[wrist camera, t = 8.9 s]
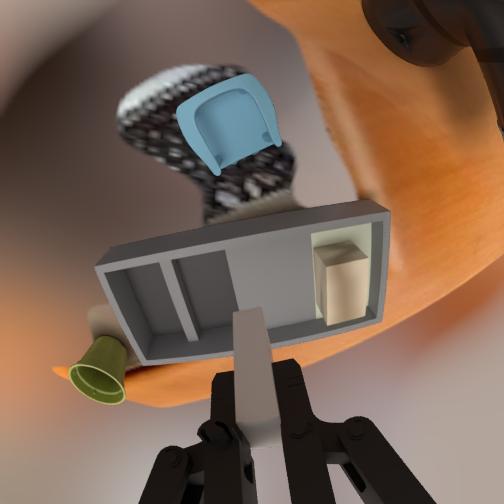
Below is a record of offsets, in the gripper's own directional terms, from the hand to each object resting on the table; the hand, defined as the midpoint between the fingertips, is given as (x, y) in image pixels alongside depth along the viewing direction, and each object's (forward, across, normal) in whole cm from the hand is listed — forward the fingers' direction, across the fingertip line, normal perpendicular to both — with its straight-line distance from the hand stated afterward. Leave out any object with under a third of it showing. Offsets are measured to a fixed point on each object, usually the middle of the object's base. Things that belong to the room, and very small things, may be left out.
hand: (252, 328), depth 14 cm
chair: (+20, +1, +10) cm, 23 cm away
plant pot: (+20, -26, -16) cm, 37 cm away
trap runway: (+20, -1, -8) cm, 22 cm away
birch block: (+18, +10, -9) cm, 22 cm away
